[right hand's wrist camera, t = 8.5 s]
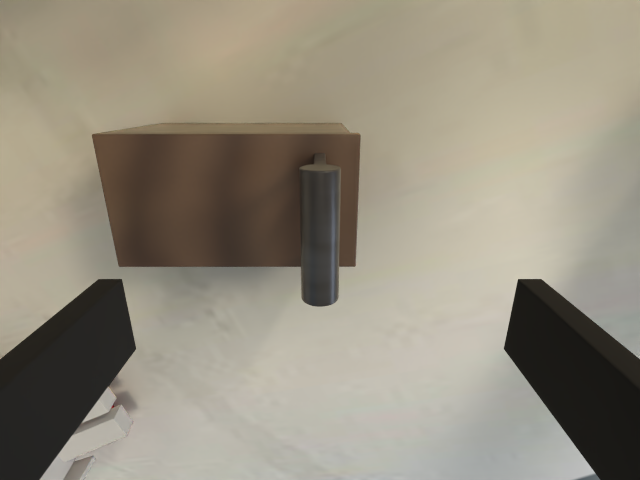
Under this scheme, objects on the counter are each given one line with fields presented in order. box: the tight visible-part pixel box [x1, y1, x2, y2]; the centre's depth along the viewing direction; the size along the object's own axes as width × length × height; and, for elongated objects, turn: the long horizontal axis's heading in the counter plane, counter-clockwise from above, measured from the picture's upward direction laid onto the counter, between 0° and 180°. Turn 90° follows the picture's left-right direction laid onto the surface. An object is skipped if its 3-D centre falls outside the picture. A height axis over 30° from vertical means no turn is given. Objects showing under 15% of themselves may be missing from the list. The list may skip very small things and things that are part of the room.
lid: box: [92, 133, 360, 306], centre depth 23 cm, size 17×9×8 cm, turn 90°
